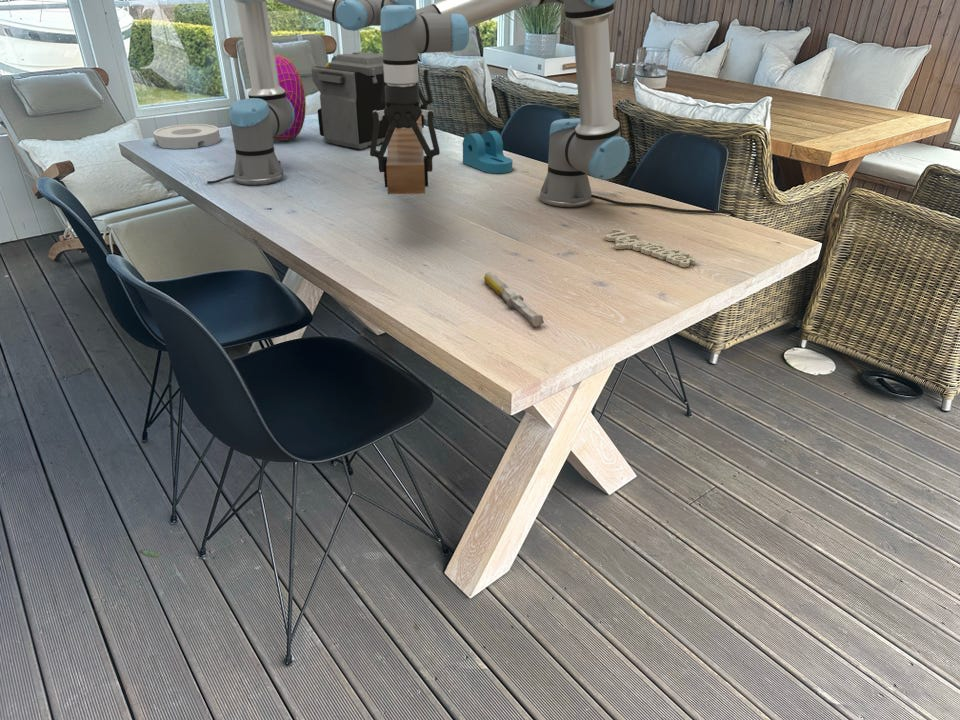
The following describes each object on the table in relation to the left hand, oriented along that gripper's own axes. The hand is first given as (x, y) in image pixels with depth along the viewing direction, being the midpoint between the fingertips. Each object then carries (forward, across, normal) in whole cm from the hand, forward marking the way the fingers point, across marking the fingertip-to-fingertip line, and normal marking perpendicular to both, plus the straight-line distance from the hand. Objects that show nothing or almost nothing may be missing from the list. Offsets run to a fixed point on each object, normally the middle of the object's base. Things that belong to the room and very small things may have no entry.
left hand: (407, 127), depth 215 cm
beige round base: (+16, +84, -52) cm, 100 cm away
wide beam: (+1, 0, +31) cm, 31 cm away
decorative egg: (+16, +48, -53) cm, 73 cm away
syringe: (+15, -21, +96) cm, 100 cm away
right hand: (0, 0, +62) cm, 62 cm away
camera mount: (+16, -27, -10) cm, 33 cm away
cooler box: (+16, +16, -54) cm, 58 cm away
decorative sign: (+15, -58, +69) cm, 91 cm away
